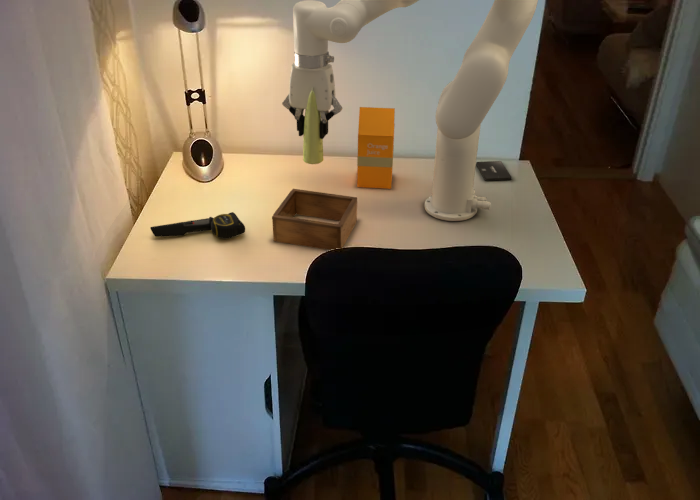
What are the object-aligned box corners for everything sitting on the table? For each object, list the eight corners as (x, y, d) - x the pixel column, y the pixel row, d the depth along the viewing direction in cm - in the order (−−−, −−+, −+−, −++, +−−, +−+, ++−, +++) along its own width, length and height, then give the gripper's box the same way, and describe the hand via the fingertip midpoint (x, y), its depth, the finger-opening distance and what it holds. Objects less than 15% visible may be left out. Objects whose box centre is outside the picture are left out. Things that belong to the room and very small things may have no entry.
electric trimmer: (151, 234, 157) (149, 222, 156) (220, 224, 161) (219, 212, 159) (152, 243, 154) (150, 230, 153) (222, 232, 158) (221, 220, 156)
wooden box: (357, 221, 162) (357, 197, 159) (341, 252, 151) (341, 227, 148) (293, 212, 166) (292, 188, 162) (272, 241, 155) (271, 216, 151)
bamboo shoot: (329, 161, 169) (328, 83, 158) (313, 167, 166) (312, 88, 155) (314, 154, 172) (312, 77, 161) (298, 160, 169) (295, 82, 158)
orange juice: (359, 173, 183) (360, 101, 173) (392, 175, 183) (395, 102, 172) (356, 187, 177) (357, 112, 166) (391, 189, 176) (394, 114, 165)
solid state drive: (485, 180, 180) (485, 178, 180) (475, 164, 189) (476, 161, 188) (511, 179, 181) (512, 177, 180) (500, 163, 189) (501, 160, 189)
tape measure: (246, 237, 156) (245, 223, 154) (217, 244, 153) (215, 230, 151) (237, 223, 161) (235, 209, 159) (208, 230, 158) (206, 215, 156)
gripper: (352, 58, 157) (351, 133, 166) (281, 51, 160) (284, 125, 170) (342, 68, 150) (342, 145, 160) (269, 60, 154) (273, 137, 164)
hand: (312, 134), depth 165 cm, fingers closed on bamboo shoot, 4 cm apart
